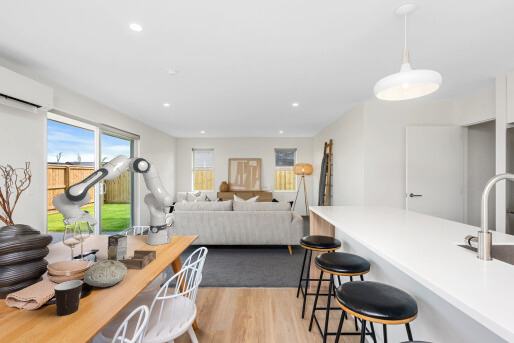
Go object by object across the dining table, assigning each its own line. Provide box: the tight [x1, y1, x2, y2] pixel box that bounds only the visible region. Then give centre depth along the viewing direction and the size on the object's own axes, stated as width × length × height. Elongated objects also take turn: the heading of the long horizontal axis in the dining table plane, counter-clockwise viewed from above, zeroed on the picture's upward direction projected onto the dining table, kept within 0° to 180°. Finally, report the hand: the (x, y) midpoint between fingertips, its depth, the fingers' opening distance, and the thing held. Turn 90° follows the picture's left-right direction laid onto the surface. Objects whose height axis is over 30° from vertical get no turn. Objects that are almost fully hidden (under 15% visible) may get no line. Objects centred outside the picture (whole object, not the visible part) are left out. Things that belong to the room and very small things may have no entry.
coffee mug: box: [53, 279, 84, 317], centre depth 92 cm, size 12×9×10 cm
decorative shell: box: [83, 259, 128, 288], centre depth 118 cm, size 18×18×10 cm
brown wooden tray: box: [118, 249, 157, 270], centre depth 146 cm, size 18×19×6 cm
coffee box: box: [107, 233, 128, 261], centre depth 147 cm, size 9×6×16 cm
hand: (90, 233), depth 147 cm, fingers closed
